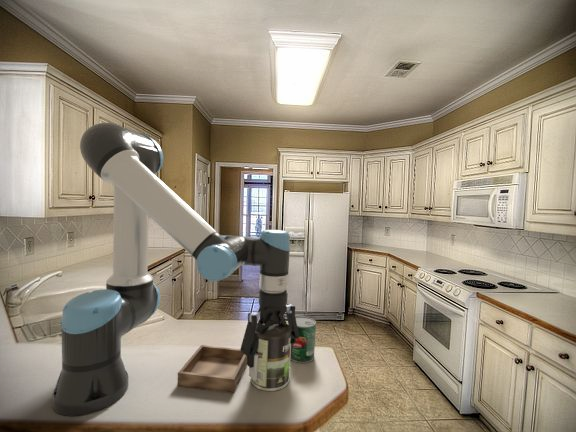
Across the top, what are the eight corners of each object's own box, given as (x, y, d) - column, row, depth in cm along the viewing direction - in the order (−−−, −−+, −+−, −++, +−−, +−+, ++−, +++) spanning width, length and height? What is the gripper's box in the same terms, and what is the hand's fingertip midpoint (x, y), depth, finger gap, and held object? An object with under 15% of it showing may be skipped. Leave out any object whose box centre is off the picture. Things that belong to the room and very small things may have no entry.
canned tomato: (285, 359, 90) (286, 324, 90) (293, 347, 98) (294, 314, 97) (310, 365, 88) (312, 328, 87) (316, 352, 95) (318, 318, 95)
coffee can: (292, 371, 84) (294, 322, 84) (284, 394, 74) (287, 339, 73) (257, 365, 86) (259, 318, 86) (244, 387, 76) (246, 333, 75)
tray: (177, 386, 76) (177, 372, 75) (201, 356, 90) (201, 345, 90) (233, 393, 74) (234, 379, 74) (248, 361, 88) (248, 350, 88)
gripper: (242, 301, 69) (239, 394, 70) (314, 286, 83) (310, 364, 84) (227, 292, 75) (225, 378, 76) (297, 279, 89) (293, 352, 90)
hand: (270, 371), depth 80 cm, fingers closed on coffee can, 10 cm apart
